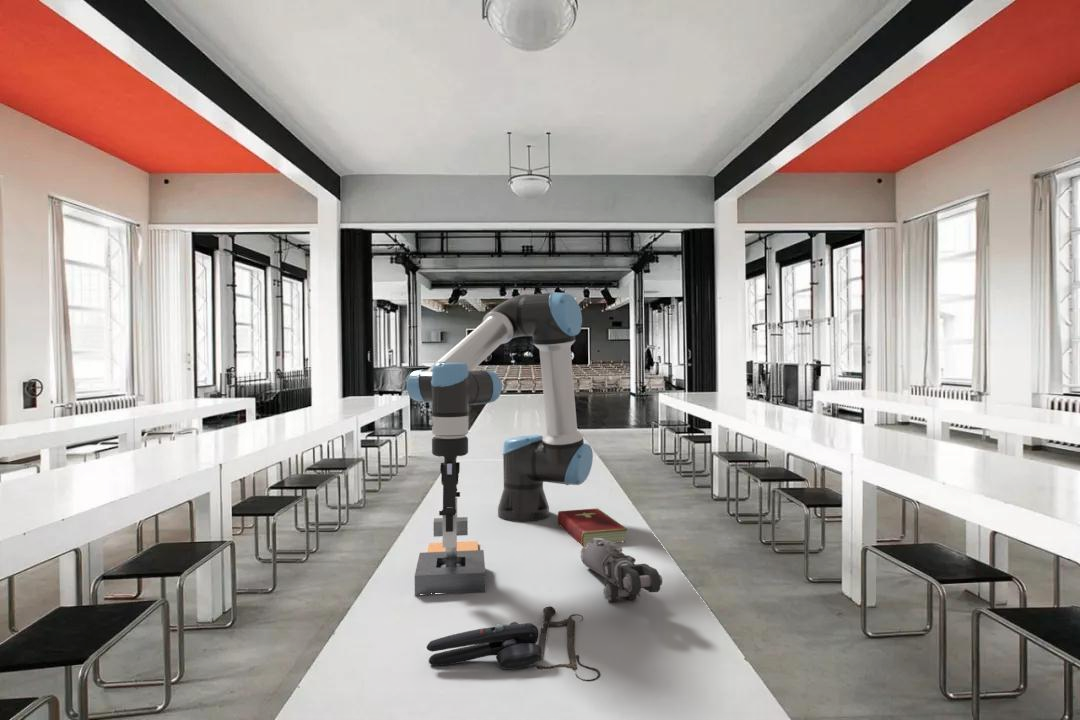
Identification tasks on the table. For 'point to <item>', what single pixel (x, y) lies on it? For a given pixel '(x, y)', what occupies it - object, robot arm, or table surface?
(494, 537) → the table surface
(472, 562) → the block
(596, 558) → the hydraulic cylinder
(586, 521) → the hardcover book
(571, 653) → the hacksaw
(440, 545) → the key mat
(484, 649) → the can opener
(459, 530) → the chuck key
